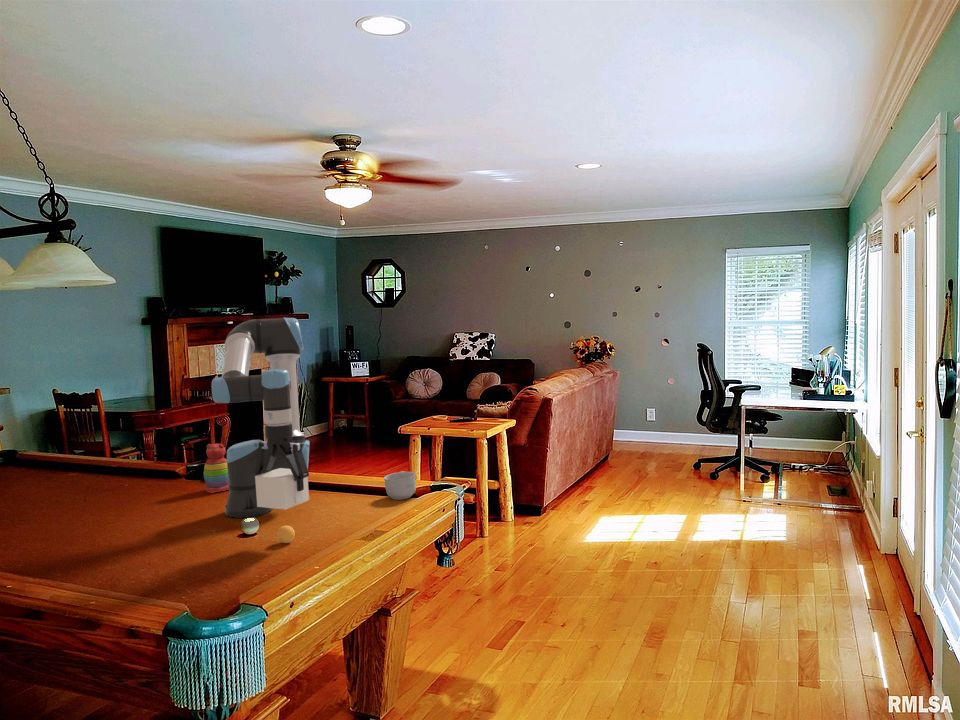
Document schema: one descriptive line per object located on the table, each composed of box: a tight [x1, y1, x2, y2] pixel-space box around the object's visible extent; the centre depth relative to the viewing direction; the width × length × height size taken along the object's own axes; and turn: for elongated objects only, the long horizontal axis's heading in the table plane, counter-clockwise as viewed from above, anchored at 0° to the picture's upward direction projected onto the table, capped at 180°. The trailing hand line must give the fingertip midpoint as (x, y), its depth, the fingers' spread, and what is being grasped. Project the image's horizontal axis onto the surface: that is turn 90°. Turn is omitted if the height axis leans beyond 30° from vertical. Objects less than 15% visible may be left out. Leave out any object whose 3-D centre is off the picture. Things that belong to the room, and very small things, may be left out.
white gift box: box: [255, 468, 310, 511], centre depth 211 cm, size 10×10×9 cm
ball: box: [276, 525, 296, 544], centre depth 211 cm, size 5×5×5 cm
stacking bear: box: [203, 443, 229, 491], centre depth 277 cm, size 11×10×18 cm
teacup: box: [383, 470, 417, 501], centre depth 257 cm, size 14×11×8 cm
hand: (283, 500), depth 211 cm, fingers closed on white gift box, 10 cm apart
